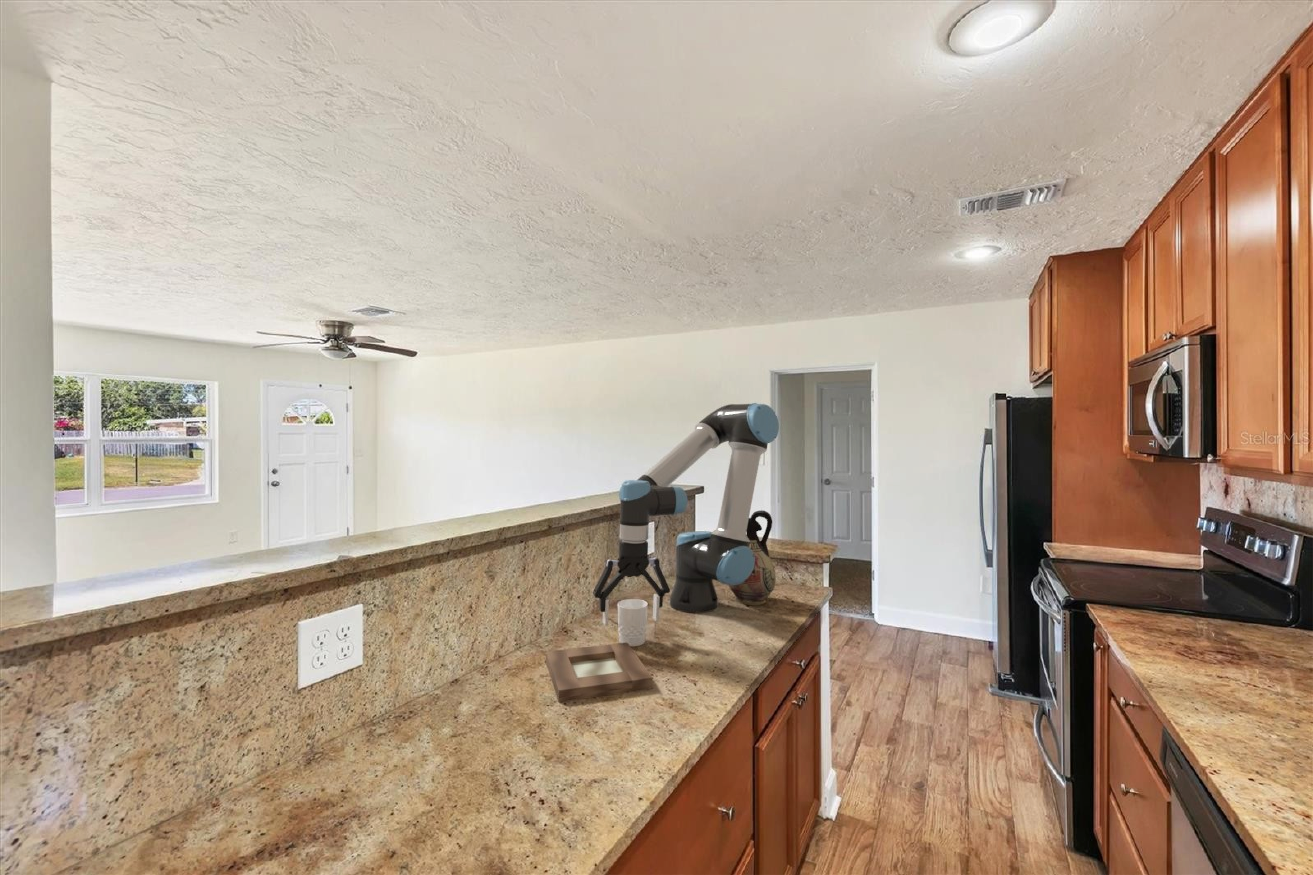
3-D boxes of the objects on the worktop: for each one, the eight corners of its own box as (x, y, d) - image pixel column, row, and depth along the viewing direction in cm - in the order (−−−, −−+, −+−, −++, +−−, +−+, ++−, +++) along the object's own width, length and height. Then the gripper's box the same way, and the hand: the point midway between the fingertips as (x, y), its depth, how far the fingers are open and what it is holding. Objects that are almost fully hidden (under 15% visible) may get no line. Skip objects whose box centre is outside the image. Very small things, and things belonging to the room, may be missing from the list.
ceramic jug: (723, 606, 174) (725, 511, 173) (731, 592, 188) (732, 504, 188) (778, 612, 169) (780, 514, 168) (781, 597, 183) (784, 507, 183)
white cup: (634, 650, 138) (634, 610, 138) (610, 642, 143) (611, 604, 143) (653, 641, 144) (653, 603, 144) (630, 633, 149) (630, 597, 149)
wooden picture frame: (627, 652, 137) (627, 642, 137) (652, 688, 118) (652, 677, 118) (545, 661, 131) (545, 651, 130) (558, 702, 112) (558, 690, 112)
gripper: (673, 536, 151) (671, 613, 151) (583, 538, 143) (580, 620, 143) (683, 541, 143) (680, 622, 144) (589, 544, 135) (586, 630, 136)
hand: (630, 622), depth 143 cm, fingers open, 13 cm apart
